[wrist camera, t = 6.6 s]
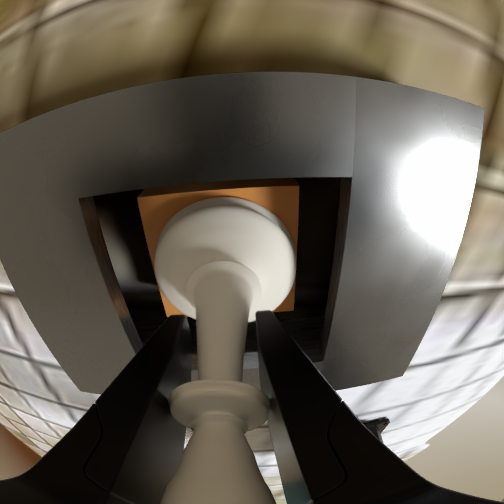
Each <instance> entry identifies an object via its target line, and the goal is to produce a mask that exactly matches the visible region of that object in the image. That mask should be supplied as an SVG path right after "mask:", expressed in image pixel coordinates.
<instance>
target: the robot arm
mask: <svg viewBox="0 0 504 504" xmlns="http://www.w3.org/2000/svg"><path fill="white" fill-rule="evenodd" d="M255 317H256V337H257V351H258V364H259V378H260V387H261V391H263V392H264V393H265V394H266V395H267V396H268V397H269V399H270V411H269V415H268V418H267V421H268V425H269V430H270V434H271V438H272V443H273V447H274V451H275V456H276V460H277V464H278V469H279V473H280V477H281V481H282V485H283V489H284V494H285V498H286V502H287V504H504V499H503V500H502V501H501V502H499V501H494V500H489V499H484V498H480V497H475V496H472V495H467V494H464V493H460V492H456V491H453V490H450V489H446V488H443V487H440V486H438V485H435V484H433V483H431V482H429V481H427V480H426V479H425V478H423V477H421V476H420V475H419V474H418V473H416V472H415V471H414V470H413V469H412V468H411V467H409V466H408V465H407V464H406V463H405V462H404V461H402V460H401V459H400V458H399V457H398V456H397V455H396V454H394V453H393V452H392V451H391V450H390V449H389V448H388V447H386V446H385V445H384V444H383V440H382V437H381V432H382V431H383V430H384V429H385V428H386V426H387V425H388V424H389V423H390V421H389V419H388V418H387V419H383V420H379V421H375V422H371V423H367V424H363V423H362V422H361V421H360V420H359V419H358V417H357V416H356V415H355V414H354V413H353V412H352V411H351V409H350V408H349V407H348V406H347V404H346V403H345V402H344V401H341V400H342V399H341V397H340V396H339V395H338V394H337V392H336V391H335V390H334V389H333V388H332V386H331V385H330V384H329V383H328V381H327V380H326V379H325V378H324V376H323V375H322V374H321V373H320V371H319V370H318V369H317V368H316V366H315V365H314V364H313V363H312V361H311V360H310V359H309V358H308V356H307V355H306V354H305V353H304V351H303V350H302V349H301V348H300V346H299V345H298V344H297V343H296V341H295V340H294V339H293V337H292V336H291V335H290V334H289V332H288V331H287V330H286V329H285V327H284V326H283V325H282V323H281V322H280V321H279V320H278V318H277V317H276V316H275V315H274V313H273V312H272V311H271V310H263V311H257V312H256V313H255ZM191 363H192V336H191V332H190V328H189V324H188V321H187V317H186V316H185V315H184V314H175V315H170V316H169V317H168V318H167V319H166V320H165V321H164V323H163V324H162V325H161V326H160V327H159V328H158V329H157V331H156V332H155V333H154V334H153V335H152V336H151V337H150V339H149V340H148V341H147V342H146V343H145V344H144V345H143V347H142V348H141V349H140V350H139V351H138V352H137V354H136V355H135V356H134V357H133V358H132V359H131V360H130V362H129V363H128V364H127V365H126V366H125V367H124V369H123V370H122V371H121V372H120V373H119V374H118V376H117V377H116V378H115V379H114V380H113V381H112V383H111V384H110V385H109V386H108V387H107V388H106V390H105V391H104V392H103V393H102V394H101V396H100V397H99V398H98V399H97V400H96V402H95V403H96V404H93V405H92V406H91V407H90V408H89V410H88V411H87V412H86V413H85V414H84V416H83V417H82V418H81V419H80V420H79V421H78V422H77V423H76V425H75V426H74V427H73V428H72V429H71V430H70V431H69V432H68V433H67V434H66V435H65V436H64V437H63V438H62V439H61V440H60V441H59V442H58V443H57V444H56V445H55V446H54V447H53V448H52V449H51V450H50V451H48V452H47V453H46V454H45V455H44V456H43V457H42V458H41V459H40V460H39V461H38V462H37V463H36V464H35V465H34V466H33V467H31V468H30V469H29V470H28V471H26V472H25V473H23V474H21V475H19V476H17V477H14V478H10V479H5V480H0V504H160V502H161V499H162V496H163V494H164V492H165V489H166V487H167V485H168V483H169V482H170V481H171V479H172V478H173V476H174V474H175V471H176V469H177V467H178V465H179V463H180V460H181V457H182V454H183V450H184V441H185V433H186V426H184V425H182V424H180V423H179V422H178V421H176V420H175V419H174V418H173V416H172V415H171V412H170V406H169V402H168V398H169V395H170V393H171V392H172V391H173V390H174V389H175V388H177V387H178V386H180V385H182V384H185V383H188V382H191Z"/></svg>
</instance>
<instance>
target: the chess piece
mask: <svg viewBox="0 0 504 504" xmlns="http://www.w3.org/2000/svg"><path fill="white" fill-rule="evenodd" d="M154 269H155V275H156V279H157V282H158V285H159V287H160V289H161V291H162V292H163V294H164V295H165V297H166V298H167V299H168V300H169V302H170V303H171V304H172V305H173V306H175V307H176V308H177V309H178V310H180V311H181V312H182V313H184V314H186V315H187V316H189V317H191V318H193V319H196V332H197V369H198V380H197V381H192V382H188V383H185V384H182V385H180V386H178V387H177V388H175V389H174V390H173V391H172V392H171V393H170V395H169V398H168V402H169V406H170V412H171V415H172V416H173V418H174V419H175V420H176V421H178V422H179V423H180V424H182V425H184V426H186V427H188V428H190V429H192V430H193V431H194V433H193V435H192V436H191V438H190V440H189V442H188V444H187V446H186V448H185V449H184V451H183V454H182V457H181V460H180V463H179V465H178V467H177V469H176V471H175V474H174V476H173V478H172V479H171V481H170V482H169V483H168V485H167V487H166V489H165V492H164V494H163V496H162V499H161V502H160V504H276V502H275V499H274V497H273V495H272V493H271V491H270V489H269V487H268V486H267V484H266V483H265V481H264V479H263V477H262V475H261V473H260V470H259V468H258V466H257V463H256V459H255V456H254V454H253V452H252V450H251V448H250V446H249V444H248V442H247V440H246V438H245V436H244V433H246V432H247V431H250V430H253V429H255V428H257V427H259V426H261V425H262V424H263V423H264V422H265V421H266V420H267V418H268V415H269V411H270V399H269V397H268V396H267V395H266V394H265V393H264V392H263V391H261V390H260V389H258V388H256V387H254V386H251V385H249V384H246V383H242V377H243V364H244V352H245V343H246V335H247V327H248V322H252V321H255V320H256V317H255V313H256V312H257V311H263V310H271V311H273V310H274V309H276V308H277V307H278V306H279V305H280V304H281V303H282V302H283V301H284V299H285V298H286V297H287V295H288V293H289V292H290V290H291V288H292V285H293V283H294V279H295V274H296V255H295V248H294V244H293V240H292V238H291V236H290V234H289V232H288V230H287V228H286V227H285V226H284V224H283V223H282V222H281V221H280V220H279V219H278V218H277V217H276V216H275V215H274V214H273V213H272V212H270V211H269V210H267V209H266V208H264V207H262V206H260V205H258V204H256V203H254V202H251V201H248V200H244V199H240V198H234V197H215V198H208V199H204V200H200V201H198V202H195V203H193V204H190V205H188V206H186V207H185V208H183V209H182V210H180V211H179V212H178V213H176V214H175V215H174V216H173V217H172V218H171V219H170V220H169V221H168V223H167V224H166V225H165V227H164V228H163V230H162V232H161V234H160V236H159V239H158V242H157V247H156V253H155V259H154Z"/></svg>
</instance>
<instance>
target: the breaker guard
mask: <svg viewBox="0 0 504 504" xmlns="http://www.w3.org/2000/svg"><path fill="white" fill-rule="evenodd" d="M483 116H484V108H482V107H480V106H477V105H474V104H471V103H468V102H465V101H462V100H459V99H456V98H453V97H449V96H446V95H442V94H439V93H435V92H431V91H428V90H424V89H419V88H415V87H411V86H406V85H402V84H397V83H391V82H386V81H380V80H374V79H368V78H361V77H353V76H344V75H334V74H323V73H307V72H239V73H224V74H212V75H202V76H193V77H185V78H178V79H171V80H165V81H159V82H154V83H149V84H143V85H139V86H134V87H129V88H125V89H121V90H117V91H113V92H109V93H105V94H101V95H98V96H94V97H91V98H88V99H84V100H81V101H78V102H75V103H72V104H69V105H66V106H63V107H60V108H57V109H55V110H52V111H49V112H47V113H44V114H42V115H39V116H37V117H34V118H32V119H29V120H27V121H25V122H22V123H20V124H18V125H16V126H14V127H12V128H9V129H7V130H5V131H3V132H1V133H0V260H1V262H2V264H3V267H4V269H5V271H6V273H7V275H8V278H9V280H10V282H11V284H12V286H13V288H14V290H15V292H16V294H17V296H18V298H19V300H20V301H21V303H22V305H23V307H24V309H25V311H26V312H27V314H28V316H29V318H30V319H31V321H32V323H33V324H34V326H35V328H36V329H37V331H38V333H39V334H40V336H41V337H42V339H43V341H44V342H45V344H46V345H47V347H48V348H49V350H50V351H51V353H52V354H53V355H54V357H55V358H56V360H57V361H58V363H59V364H60V365H61V367H62V368H63V369H64V371H65V372H66V373H67V375H68V376H69V377H70V379H71V380H72V381H73V383H74V384H75V385H76V386H77V388H78V389H79V390H80V391H83V392H89V393H95V394H102V393H103V392H104V391H105V390H106V388H107V387H108V386H109V385H110V384H111V383H112V381H113V380H114V379H115V378H116V377H117V376H118V374H119V373H120V372H121V371H122V370H123V369H124V367H125V366H126V365H127V364H128V363H129V362H130V360H131V359H132V358H133V357H134V356H135V355H136V354H137V352H138V351H139V350H140V349H141V348H142V347H143V345H144V344H145V343H146V342H147V341H148V340H149V339H150V337H151V336H152V335H153V334H154V333H155V332H156V331H157V329H158V328H159V327H160V326H142V325H134V323H133V320H132V318H131V316H130V313H129V310H128V308H127V305H126V303H125V300H124V297H123V295H122V292H121V289H120V287H119V284H118V281H117V278H116V275H115V272H114V269H113V266H112V263H111V260H110V257H109V254H108V251H107V247H106V244H105V241H104V237H103V234H102V230H101V227H100V223H99V219H98V216H97V212H96V208H95V204H94V200H93V196H96V195H102V194H109V193H116V192H123V191H130V190H137V189H145V188H154V187H162V186H171V185H181V184H192V183H203V182H215V181H229V180H245V179H265V178H294V177H341V184H340V198H339V209H338V220H337V230H336V239H335V248H334V256H333V264H332V271H331V279H330V286H329V292H328V299H327V305H326V311H325V316H319V317H310V318H300V319H289V320H279V321H280V322H281V323H282V325H283V326H284V327H285V329H286V330H287V331H288V332H289V334H290V335H291V336H292V337H293V339H294V340H295V341H296V343H297V344H298V345H299V346H300V348H301V349H302V350H303V351H304V353H305V354H306V355H307V356H308V358H309V359H310V360H311V361H312V363H313V364H314V365H315V366H316V368H317V369H318V370H319V371H320V373H321V374H322V375H323V376H324V378H325V379H326V380H327V381H328V383H329V384H330V385H331V386H332V388H333V389H334V390H341V389H347V388H352V387H357V386H362V385H367V384H371V383H376V382H380V381H384V380H389V379H393V378H397V377H400V376H403V374H404V372H405V371H406V369H407V367H408V365H409V364H410V362H411V360H412V358H413V356H414V354H415V352H416V350H417V348H418V347H419V345H420V343H421V341H422V339H423V337H424V334H425V332H426V330H427V328H428V326H429V324H430V322H431V320H432V317H433V315H434V313H435V311H436V308H437V306H438V303H439V301H440V299H441V296H442V294H443V291H444V289H445V286H446V283H447V281H448V278H449V275H450V273H451V270H452V267H453V264H454V261H455V258H456V255H457V252H458V249H459V245H460V242H461V239H462V235H463V232H464V228H465V225H466V221H467V217H468V213H469V209H470V204H471V200H472V195H473V191H474V186H475V180H476V175H477V169H478V162H479V156H480V148H481V139H482V129H483ZM189 328H190V332H191V336H192V363H191V382H192V381H197V380H198V369H197V332H196V325H189ZM242 383H246V384H249V385H251V386H254V387H256V388H258V389H260V390H261V387H260V378H259V364H258V351H257V337H256V322H248V327H247V335H246V343H245V352H244V364H243V377H242Z"/></svg>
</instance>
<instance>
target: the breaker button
mask: <svg viewBox="0 0 504 504" xmlns="http://www.w3.org/2000/svg"><path fill="white" fill-rule="evenodd" d="M215 197H234V198H240V199H244V200H248V201H251V202H254V203H256V204H258V205H260V206H262V207H264V208H266V209H267V210H269V211H270V212H272V213H273V214H274V215H275V216H276V217H277V218H278V219H279V220H280V221H281V222H282V223H283V224H284V226H285V227H286V228H287V230H288V232H289V234H290V236H291V238H292V240H293V244H294V248H295V255H296V261H297V239H298V212H299V185H298V183H297V182H296V180H295V179H294V178H265V179H245V180H229V181H215V182H203V183H192V184H181V185H171V186H162V187H154V188H145V189H144V190H143V191H142V193H141V194H140V195H139V196H138V197H137V199H138V204H139V209H140V214H141V219H142V223H143V228H144V232H145V237H146V241H147V245H148V249H149V253H150V257H151V261H152V265H153V269H154V259H155V253H156V247H157V242H158V239H159V236H160V234H161V232H162V230H163V228H164V227H165V225H166V224H167V223H168V221H169V220H170V219H171V218H172V217H173V216H174V215H175V214H176V213H178V212H179V211H180V210H182V209H183V208H185V207H186V206H188V205H190V204H193V203H195V202H198V201H200V200H204V199H208V198H215ZM154 273H155V269H154ZM155 276H156V275H155ZM156 280H157V279H156ZM295 280H296V274H295V279H294V283H293V285H292V288H291V290H290V292H289V293H288V295H287V297H286V298H285V299H284V301H283V302H282V303H281V304H280V305H279V306H278V307H277V308H276V309H274V310H273V311H272V312H282V311H294V296H295ZM157 284H158V282H157ZM158 287H159V285H158ZM159 291H160V294H161V298H162V301H163V305H164V308H165V311H166V315H167V317H169V316H170V315H175V314H184V313H182V312H181V311H180V310H178V309H177V308H176V307H175V306H173V305H172V304H171V303H170V302H169V300H168V299H167V298H166V297H165V295H164V294H163V292H162V291H161V289H160V287H159ZM184 315H185V316H186V317H189V316H187V315H186V314H184Z"/></svg>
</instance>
